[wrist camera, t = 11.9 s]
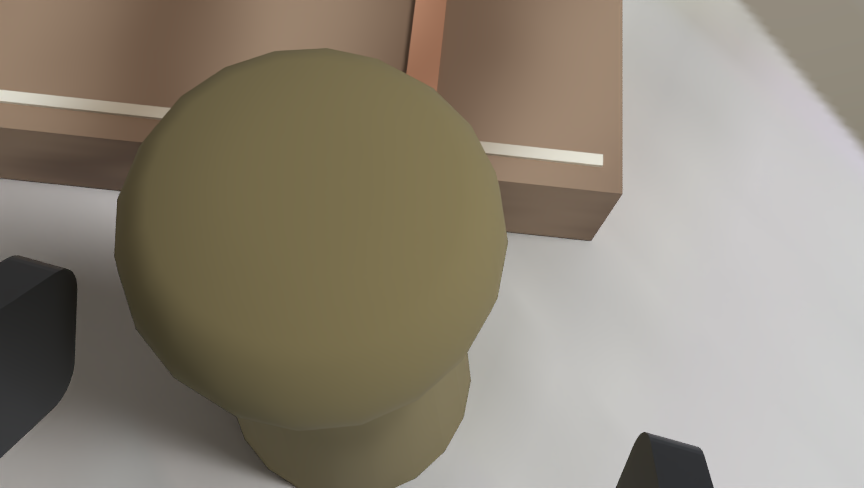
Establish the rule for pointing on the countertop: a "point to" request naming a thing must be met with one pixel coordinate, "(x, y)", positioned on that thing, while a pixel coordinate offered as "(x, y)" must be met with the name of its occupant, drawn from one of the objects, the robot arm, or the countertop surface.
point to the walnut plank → (340, 30)
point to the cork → (316, 260)
